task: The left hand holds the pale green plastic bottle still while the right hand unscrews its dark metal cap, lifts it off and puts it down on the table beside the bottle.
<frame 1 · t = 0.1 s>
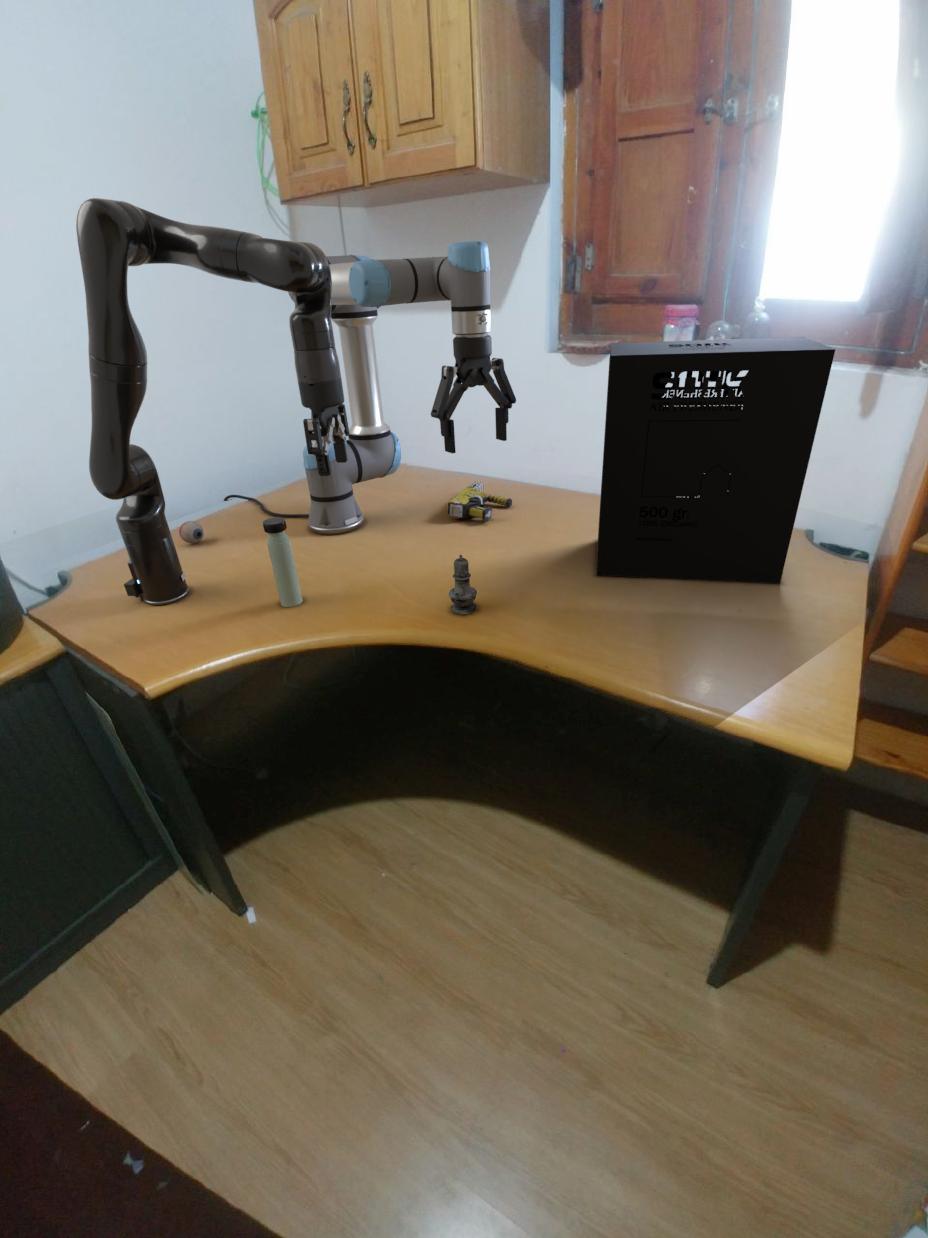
left hand: (333, 468, 113), 29 cm above the table, tool pointing down, fingers open, 8 cm apart
right hand: (476, 445, 127), 28 cm above the table, tool pointing down, fingers open, 13 cm apart
salt shaker: (463, 608, 124), on the table
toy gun: (484, 508, 175), on the table
eyeball: (195, 543, 163), on the table
bottle: (291, 602, 130), on the table
cap: (274, 522, 121), point 18 cm above the table, screwed on, not yet turned
cardboard box: (680, 560, 138), on the table
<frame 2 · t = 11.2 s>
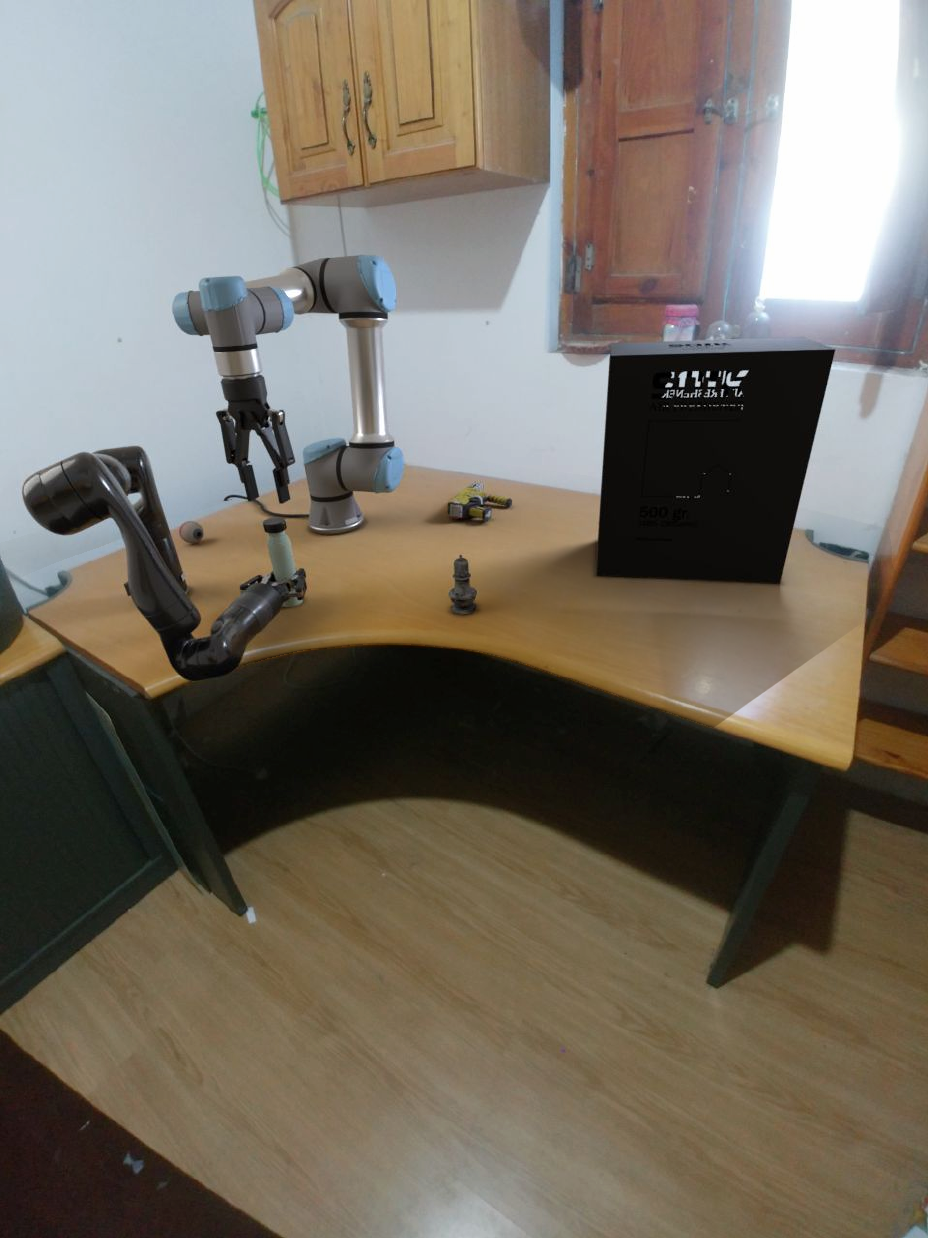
left hand: (291, 571, 130), 6 cm above the table, tool horizontal, fingers closed on bottle, 4 cm apart
right hand: (269, 499, 119), 23 cm above the table, tool pointing down, fingers open, 7 cm apart
bottle: (291, 602, 130), on the table, touching left hand
everything else where it was.
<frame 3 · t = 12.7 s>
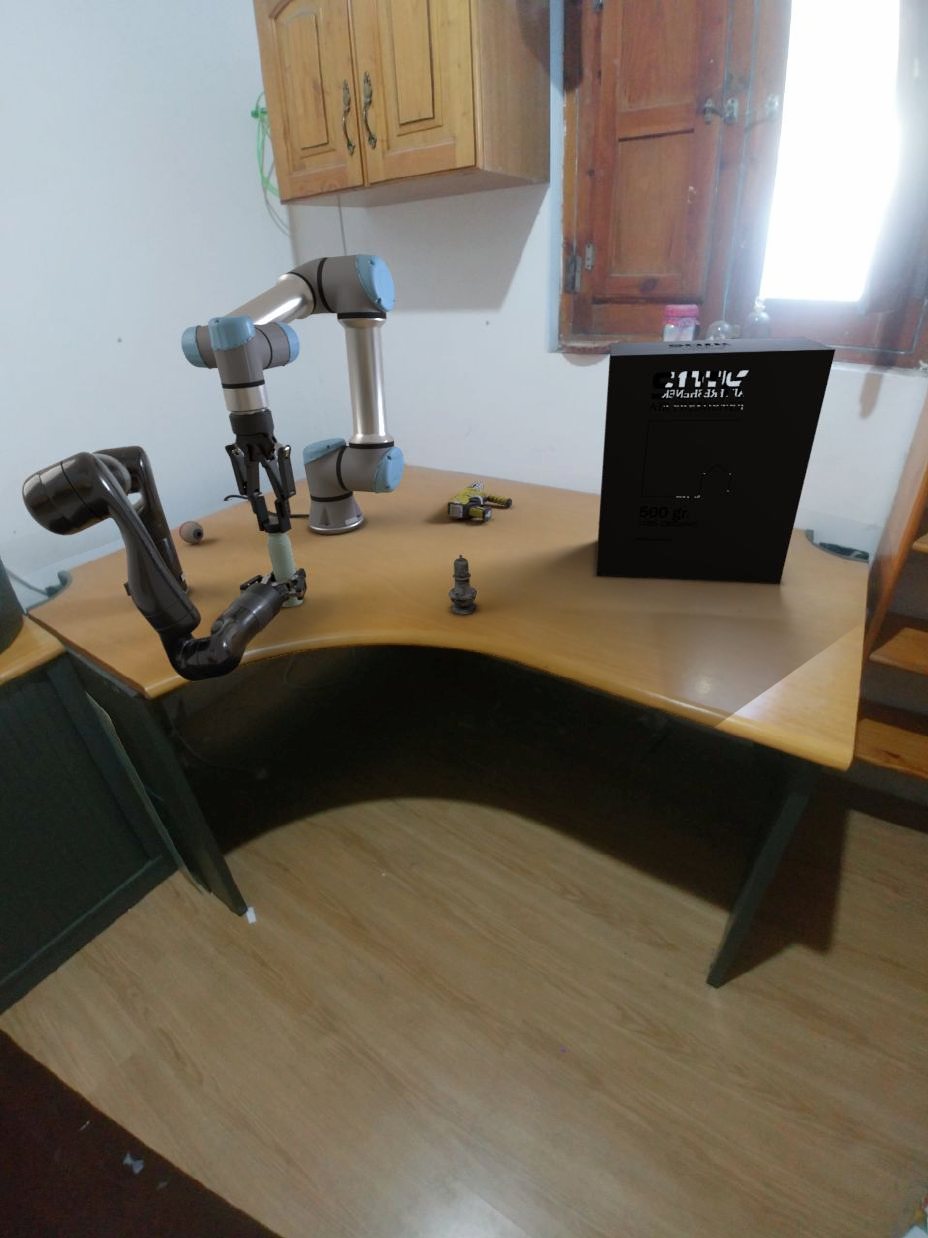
left hand: (291, 571, 130), 6 cm above the table, tool horizontal, fingers closed on bottle, 4 cm apart
right hand: (275, 529, 122), 17 cm above the table, tool pointing down, fingers closed on cap, 4 cm apart
bottle: (291, 602, 130), on the table, touching left hand
cap: (274, 522, 121), point 18 cm above the table, screwed on, not yet turned, touching right hand
everything else where it was.
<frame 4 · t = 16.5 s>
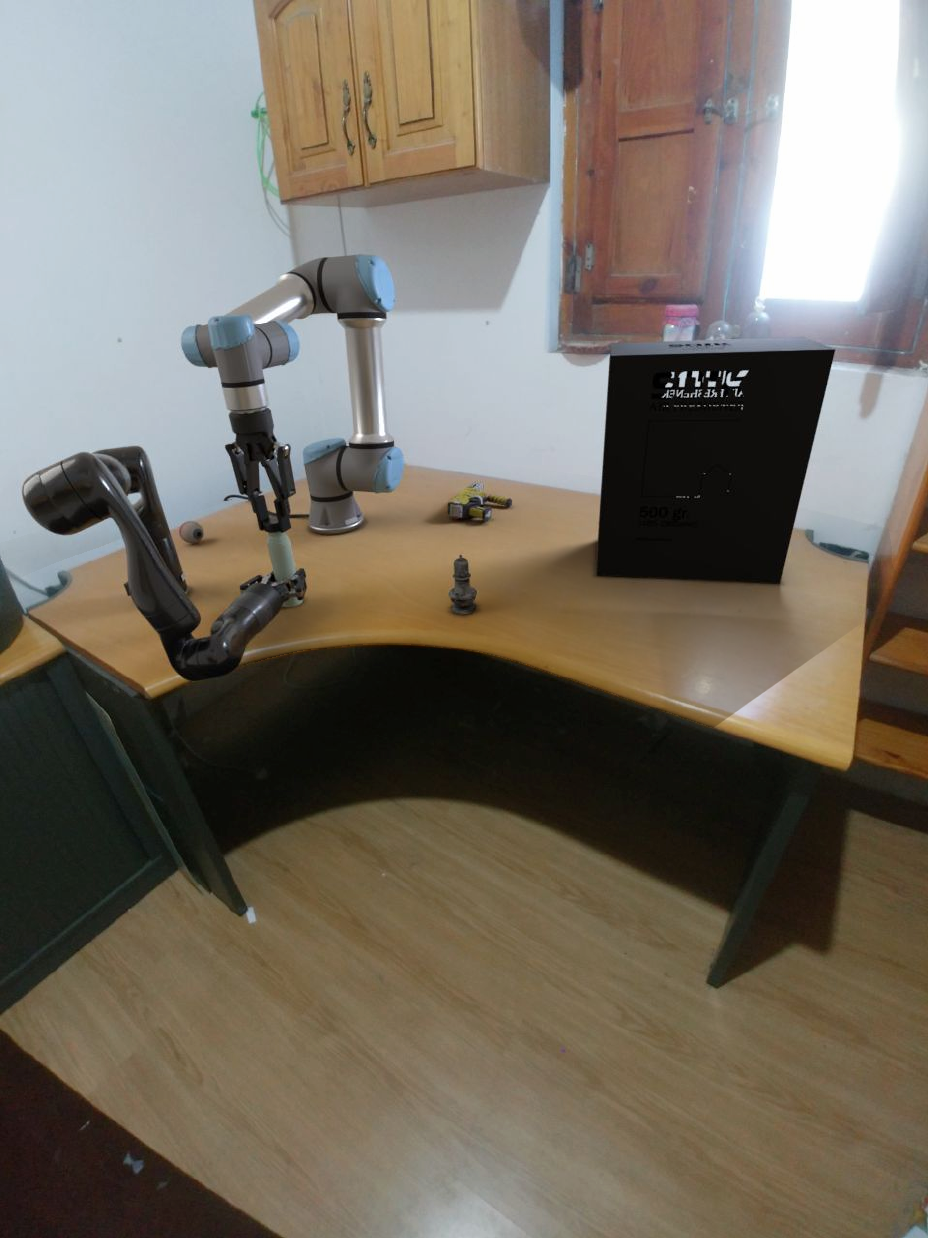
left hand: (291, 571, 130), 6 cm above the table, tool horizontal, fingers closed on bottle, 4 cm apart
right hand: (275, 528, 122), 17 cm above the table, tool pointing down, fingers closed on cap, 4 cm apart
bottle: (291, 602, 130), on the table, touching left hand
cap: (273, 521, 121), point 18 cm above the table, turned 141° so far, risen 0.2 cm, still on its thread, touching right hand
everything else where it was.
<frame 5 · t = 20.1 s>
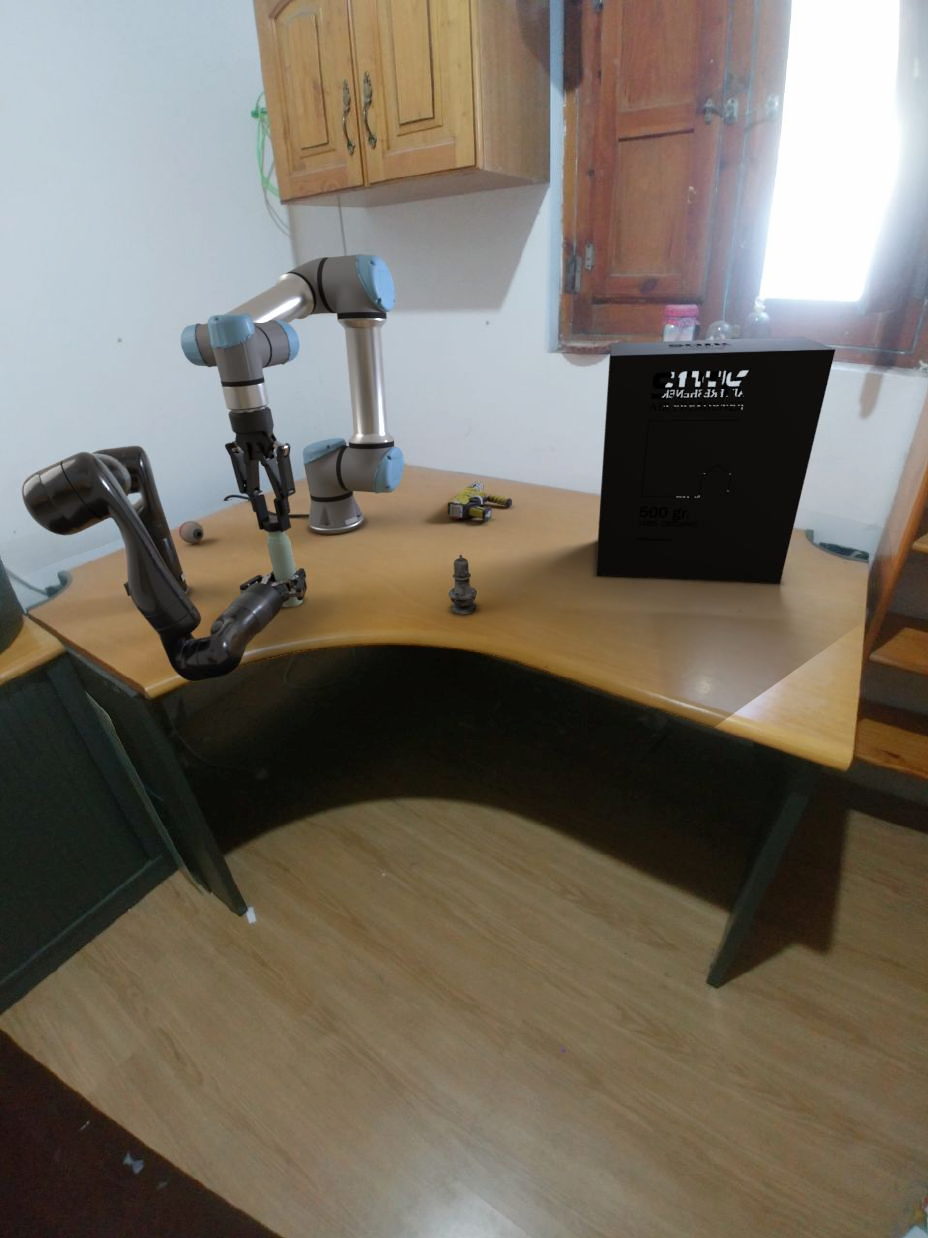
left hand: (291, 571, 130), 6 cm above the table, tool horizontal, fingers closed on bottle, 4 cm apart
right hand: (275, 528, 122), 17 cm above the table, tool pointing down, fingers closed on cap, 4 cm apart
bottle: (291, 602, 130), on the table, touching left hand
cap: (273, 520, 121), point 19 cm above the table, turned 283° so far, risen 0.3 cm, still on its thread, touching right hand
everything else where it was.
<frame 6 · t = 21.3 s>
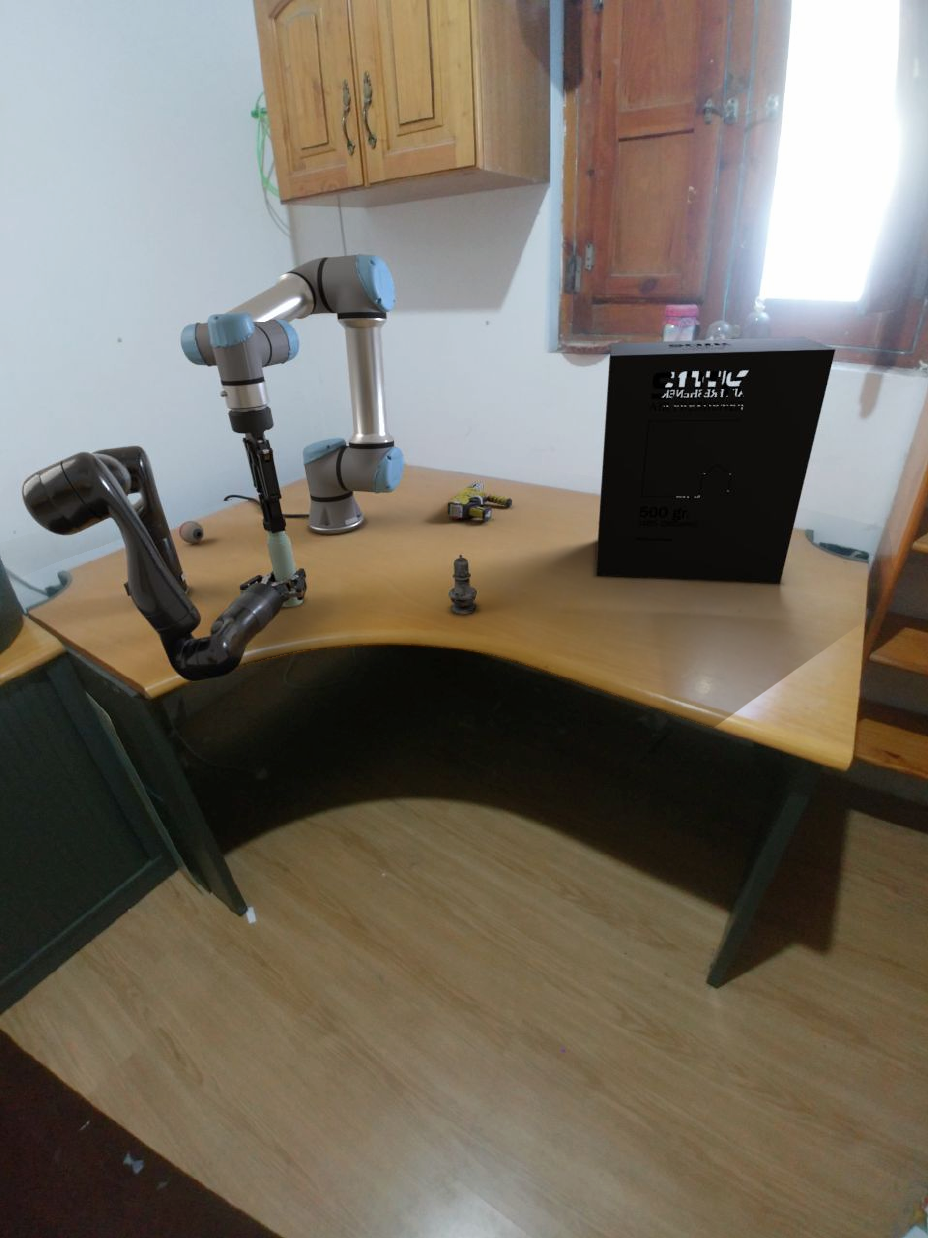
left hand: (291, 571, 130), 6 cm above the table, tool horizontal, fingers closed on bottle, 4 cm apart
right hand: (275, 527, 122), 17 cm above the table, tool pointing down, fingers closed on cap, 4 cm apart
bottle: (291, 602, 130), on the table, touching left hand
cap: (273, 520, 121), point 19 cm above the table, off its thread, touching right hand
everything else where it was.
when the right hand's fingers open (1 cm above the table, at t = 27.5 s): cap drops 1 cm, point 2 cm above the table.
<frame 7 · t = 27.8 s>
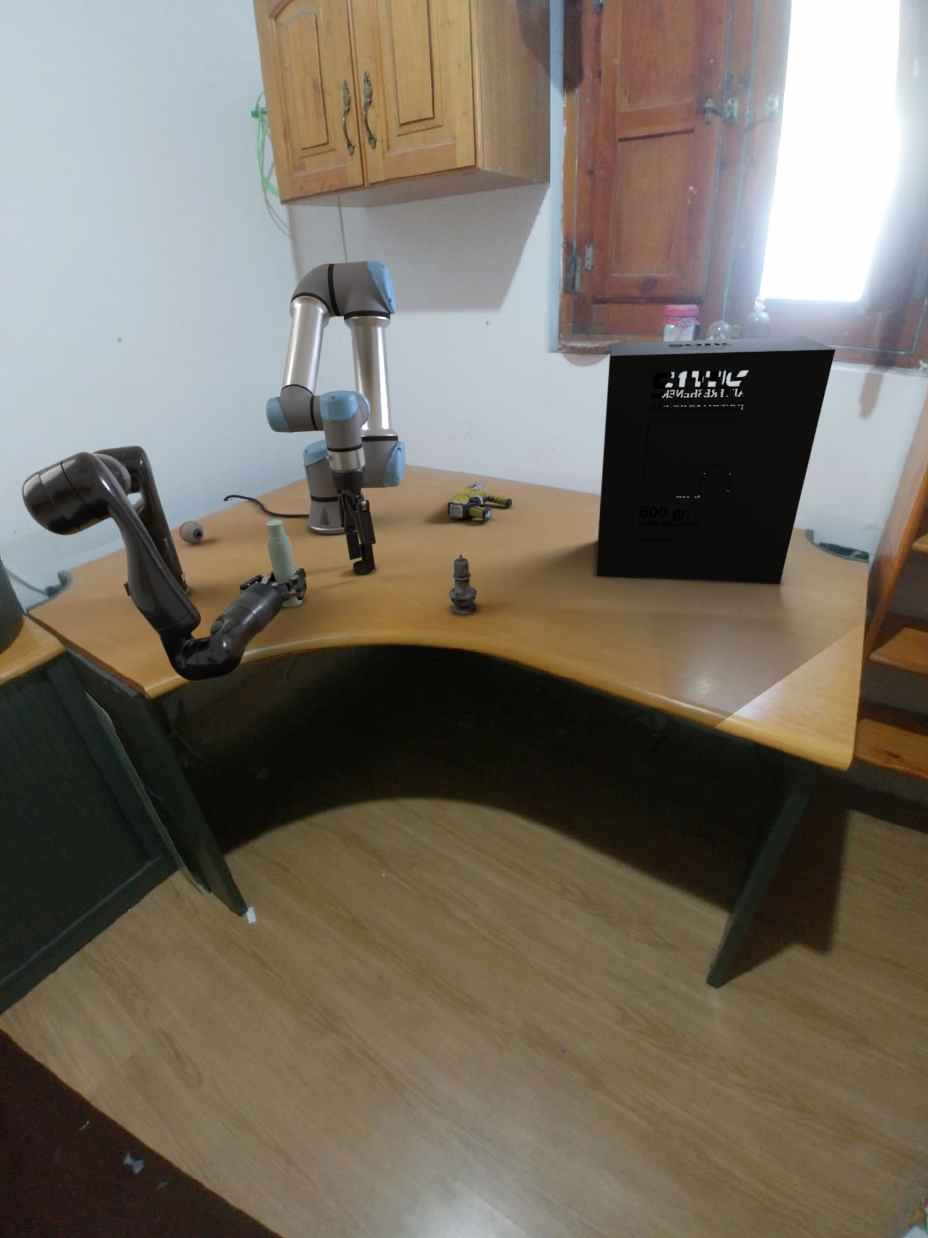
left hand: (291, 571, 130), 6 cm above the table, tool horizontal, fingers closed on bottle, 4 cm apart
right hand: (362, 563, 141), 2 cm above the table, tool pointing down, fingers open, 8 cm apart
bottle: (291, 602, 130), on the table, touching left hand
cap: (362, 564, 142), point 2 cm above the table, off its thread
everything else where it was.
when the left hand's fingers open (6 cm above the table, at t = 28.8 s): bottle stays where it is, on the table.
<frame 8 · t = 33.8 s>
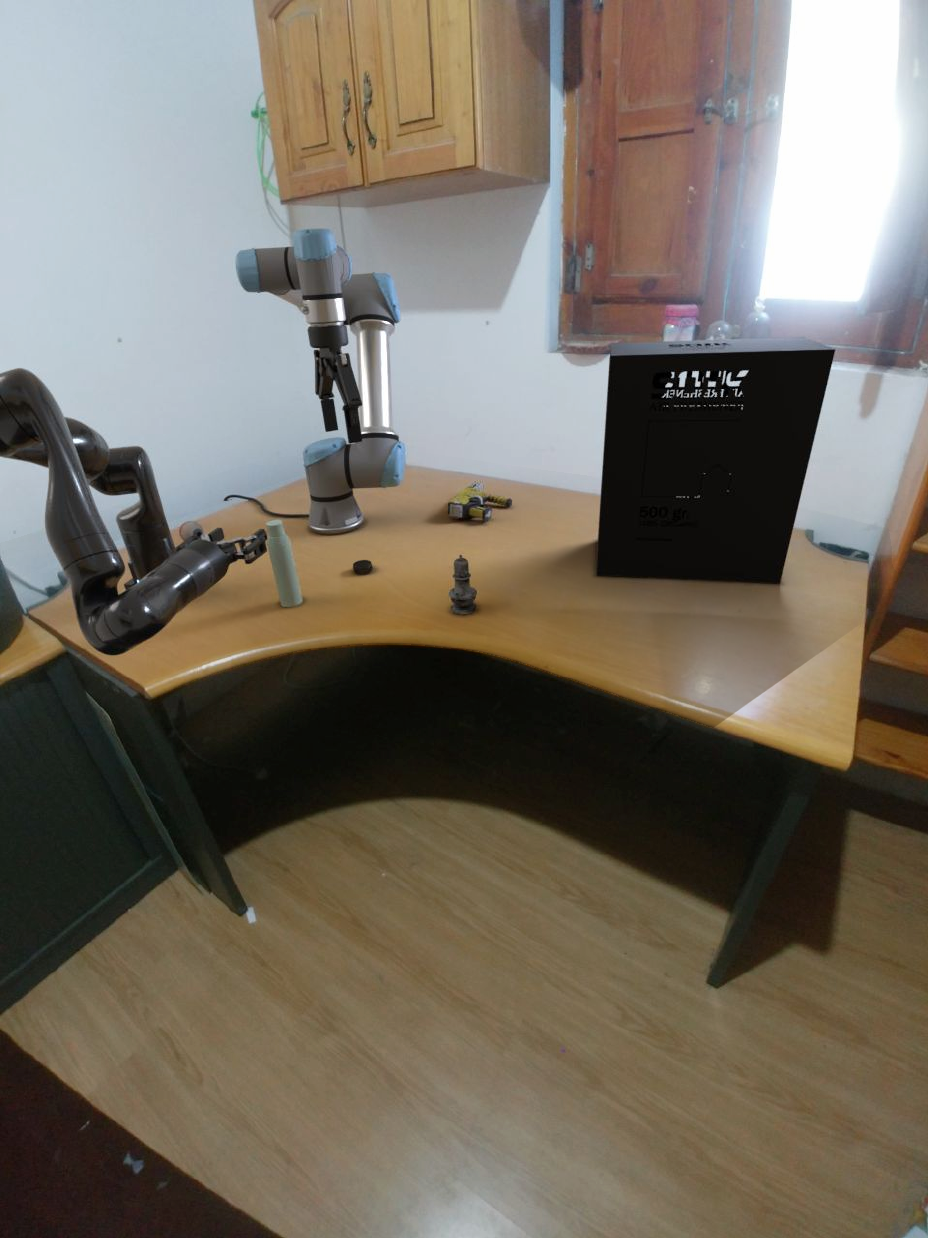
left hand: (242, 532, 110), 21 cm above the table, tool horizontal, fingers open, 8 cm apart
right hand: (343, 436, 127), 31 cm above the table, tool pointing down, fingers open, 13 cm apart
bottle: (291, 602, 130), on the table
everything else where it was.
at the end: cap came off its thread; cap point 1.6 cm above the table; the left hand is holding nothing; the right hand is holding nothing; bottle tilted 0°; bottle moved 0.0 cm from its start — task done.
